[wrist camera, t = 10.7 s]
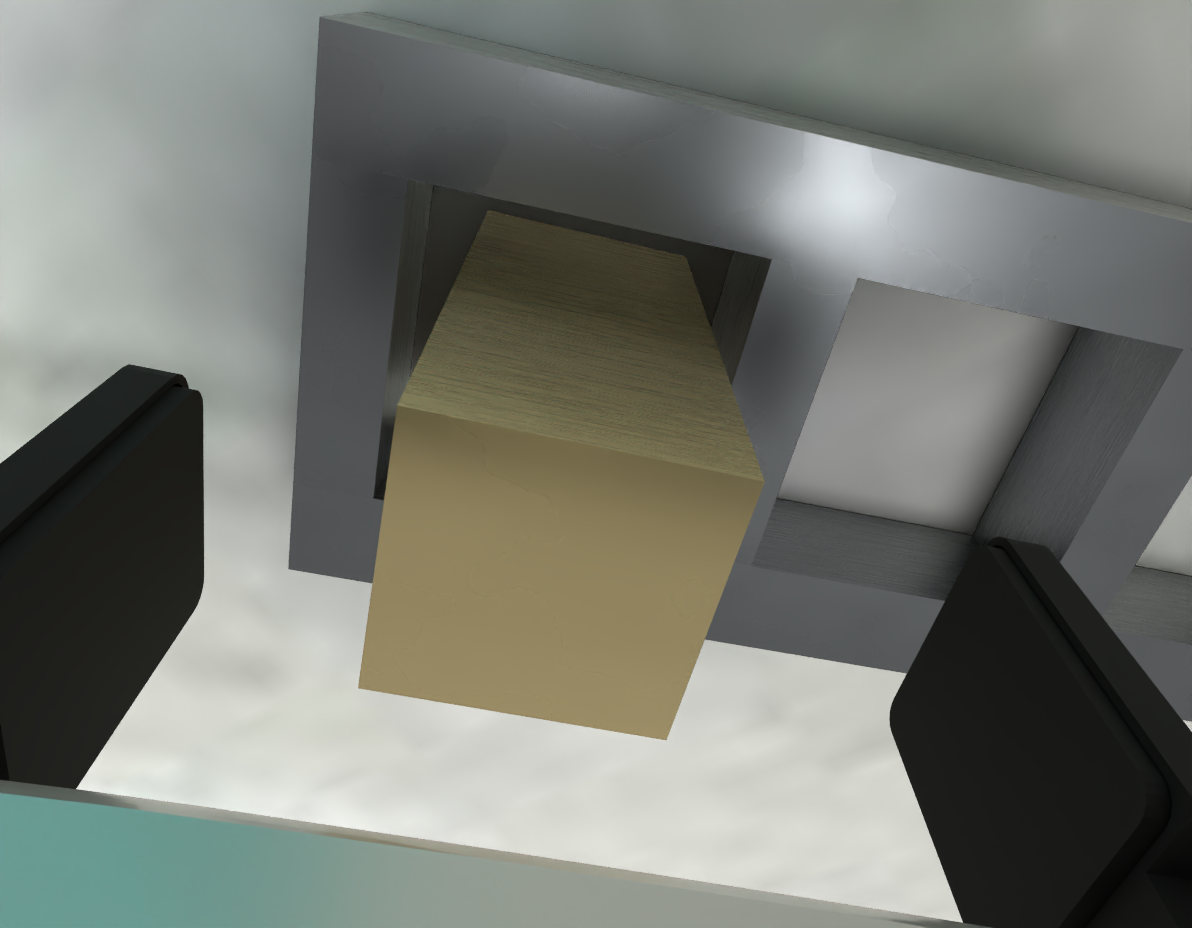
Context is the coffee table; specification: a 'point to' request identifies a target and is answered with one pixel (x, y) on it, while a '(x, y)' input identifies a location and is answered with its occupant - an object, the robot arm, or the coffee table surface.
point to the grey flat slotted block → (759, 320)
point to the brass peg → (560, 487)
